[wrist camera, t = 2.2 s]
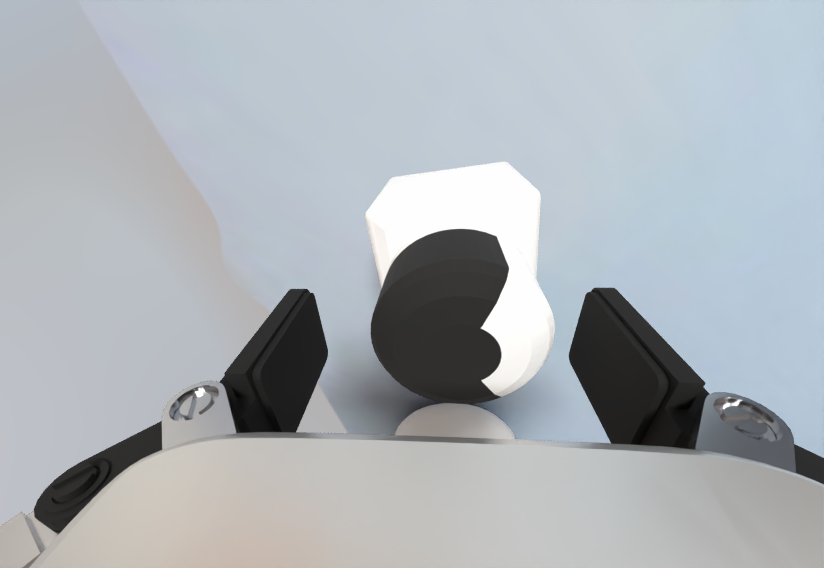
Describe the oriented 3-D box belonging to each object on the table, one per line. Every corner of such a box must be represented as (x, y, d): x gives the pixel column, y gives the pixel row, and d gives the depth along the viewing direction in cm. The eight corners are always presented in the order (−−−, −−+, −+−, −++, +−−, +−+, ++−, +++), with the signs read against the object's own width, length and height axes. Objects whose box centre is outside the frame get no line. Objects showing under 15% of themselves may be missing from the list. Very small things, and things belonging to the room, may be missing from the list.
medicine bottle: (406, 278, 22) (374, 429, 12) (388, 176, 19) (320, 265, 8) (508, 269, 21) (569, 427, 11) (509, 159, 18) (600, 238, 7)
